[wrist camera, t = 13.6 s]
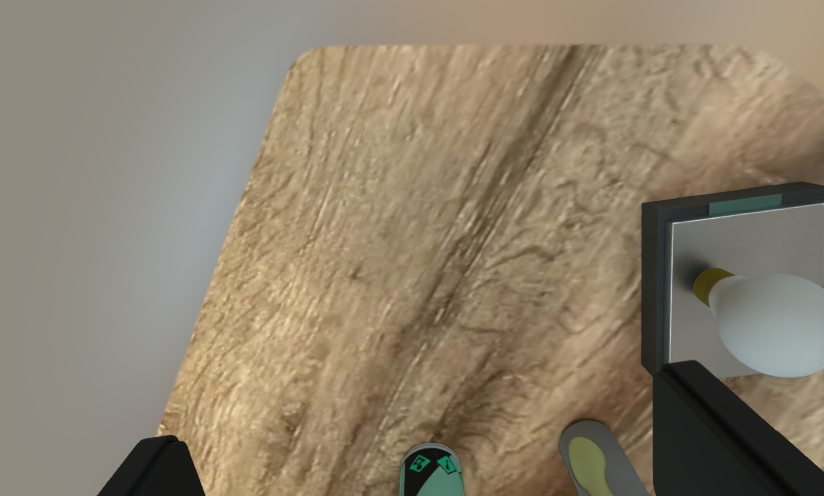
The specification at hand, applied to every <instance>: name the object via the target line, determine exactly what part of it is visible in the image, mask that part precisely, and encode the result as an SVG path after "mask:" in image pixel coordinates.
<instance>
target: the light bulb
mask: <svg viewBox="0 0 824 496" xmlns="http://www.w3.org/2000/svg"><path fill="white" fill-rule="evenodd" d="M693 291H694V294H695V296H696V297H697V298H698V299H699V300H700V301H701V302H703V303H704V304H705V305H706V306H708V307H709V308H710V309H711V311H712V312H713V314H714V315H715V316H716V317H717V327H718V331H719V334H720V337H721V339H722V341H723V343H724V345H725V346H726V348H727V349H728V350H729V352H730V353H731V354H732V355H733V356H734V357H735V358H737V359H738V360H739V361H740V362H742V363H743V364H745V365H746V366H748V367H750V368H752V369H754V370H756V371H758V372H761V373H764V374H768V375H772V376H777V377H787V378H788V377H801V376H807V375H810V374H814V373H816V372H819V371H821V370H823V369H824V289H823V288H822V287H820V286H819V285H817V284H815V283H813V282H811V281H809V280H807V279H804V278H801V277H798V276H794V275H790V274H780V273H772V274H762V275H757V276H754V277H748V276H737V275H734V274H732V273H730V272H727V271H725V270H723V269H720V268H711V269H707V270H705V271H703V272H702V273H701V274H700V275H699V276H698V277H697V278H696V280H695V282H694V286H693Z"/></svg>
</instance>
